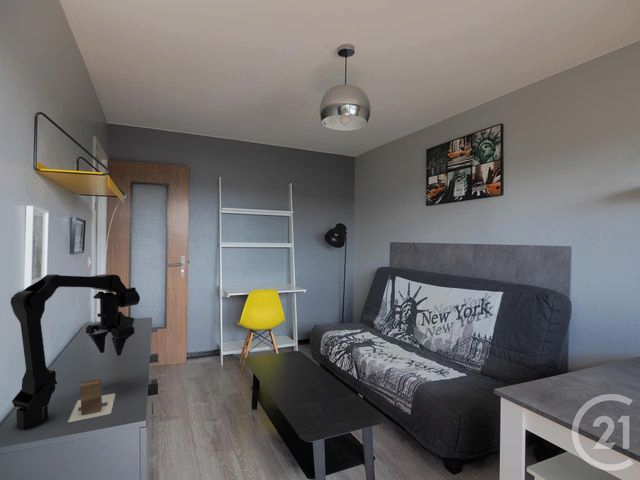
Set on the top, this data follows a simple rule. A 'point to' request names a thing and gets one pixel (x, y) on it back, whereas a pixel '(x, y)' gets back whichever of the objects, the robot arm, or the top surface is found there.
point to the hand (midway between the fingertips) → (110, 354)
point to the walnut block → (91, 396)
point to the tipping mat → (106, 409)
